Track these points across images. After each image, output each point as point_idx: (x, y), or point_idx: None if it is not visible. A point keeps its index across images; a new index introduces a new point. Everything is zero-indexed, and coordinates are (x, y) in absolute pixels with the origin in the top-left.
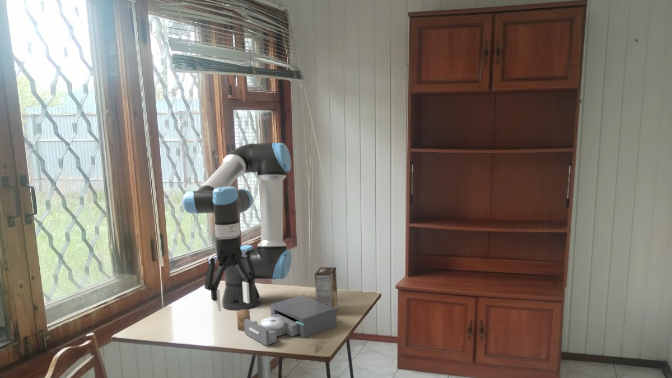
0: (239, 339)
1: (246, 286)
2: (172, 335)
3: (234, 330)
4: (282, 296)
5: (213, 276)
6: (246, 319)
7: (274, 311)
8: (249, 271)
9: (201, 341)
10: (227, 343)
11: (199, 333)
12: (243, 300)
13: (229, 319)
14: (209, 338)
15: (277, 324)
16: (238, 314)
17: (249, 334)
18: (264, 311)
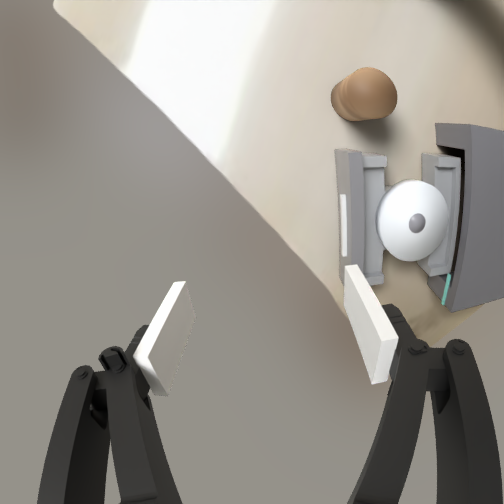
0: (302, 176)
1: (367, 369)
2: (135, 31)
3: (317, 94)
4: (497, 7)
5: (106, 469)
6: (355, 158)
7: (460, 147)
8: (442, 420)
9: (192, 115)
10: (258, 181)
11: (207, 49)
12: (345, 270)
13: (335, 4)
14: (221, 106)
15: (409, 260)
16: (348, 97)
17: (338, 182)
18: (444, 37)
